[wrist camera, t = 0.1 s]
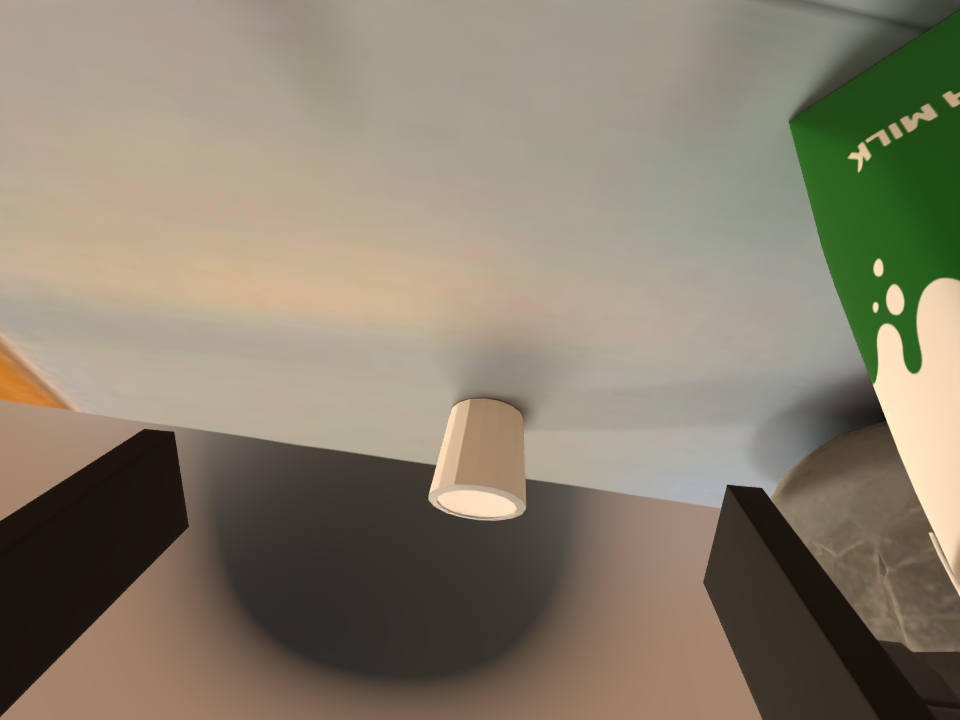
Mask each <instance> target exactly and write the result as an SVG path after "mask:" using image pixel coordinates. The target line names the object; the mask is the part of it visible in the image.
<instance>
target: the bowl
mask: <svg viewBox="0 0 960 720" xmlns="http://www.w3.org/2000/svg"><path fill="white" fill-rule="evenodd" d="M771 501H772V502H773V503H774V505H775V506H776V507H777V509H778V510H779V511H780V512H781V514H782V515H783V516H784V518H785V519H786V520H787V522H788V523H789V524H790V526H791V527H792V528H793V530H794V531H795V532H796V534H797V535H798V536H799V538H800V539H801V540H802V542H803V543H804V544H805V545H806V547H807V548H808V549H809V551H810V552H811V553H812V555H813V556H814V557H815V559H816V560H817V561H818V563H819V564H820V565H821V567H822V568H823V569H824V571H825V572H826V573H827V574H828V576H829V577H830V578H831V580H832V581H833V582H834V584H835V585H836V586H837V588H838V589H839V590H840V592H841V593H842V594H843V596H844V597H845V598H846V600H847V601H848V602H849V604H850V605H851V606H852V607H853V609H854V610H855V611H856V613H857V614H858V615H859V617H860V618H861V619H862V621H863V622H864V623H865V625H866V626H867V627H868V629H869V630H870V631H871V633H872V634H873V635H874V637H875V638H876V639H877V640H883V641H892V642H901V643H902V644H903V645H905V646H906V647H907V648H908V649H910V650H911V651H912V652H913V653H915V654H916V655H917V656H918V657H920V658H921V659H922V660H923V661H924V662H926V663H927V664H928V665H929V666H931V667H932V668H933V669H934V670H936V671H937V672H938V674H939V675H940V676H941V677H942V678H943V680H944V681H945V682H946V683H947V684H948V686H949V687H950V688H951V689H952V690H953V692H954V693H955V694H956V695H957V696H958V698H959V699H960V596H959V594H958V592H957V590H956V588H955V586H954V585H953V583H952V581H951V579H950V577H949V575H948V573H947V571H946V569H945V567H944V565H943V563H942V561H941V560H940V558H939V556H938V553H937V551H936V549H935V547H934V544H933V542H932V540H931V538H930V535H929V533H930V532H932V533H933V534H934V535H935V533H934V530H933V528H932V526H931V524H930V522H929V520H928V518H927V516H926V514H925V511H924V509H923V507H922V505H921V503H920V501H919V499H918V496H917V494H916V492H915V490H914V487H913V485H912V482H911V480H910V478H909V475H908V473H907V471H906V468H905V466H904V463H903V461H902V459H901V456H900V454H899V451H898V449H897V446H896V443H895V441H894V438H893V436H892V433H891V430H890V428H889V425H888V423H887V421H884V422H879V423H876V424H873V425H869V426H866V427H862V428H859V429H856V430H853V431H851V432H848V433H845V434H843V435H842V436H838V437H836V438H835V439H833V440H831V441H829V442H828V443H826V444H824V445H823V446H821V447H819V448H818V449H816V450H814V451H813V452H811V453H810V454H809V455H808V456H806V457H805V458H804V459H803V460H801V461H800V462H799V463H798V464H797V465H796V466H794V467H793V468H792V469H791V470H790V471H789V472H788V473H787V474H786V475H785V477H784V478H783V479H782V480H781V482H780V483H779V485H778V486H777V488H776V490H775V492H774V494H773V495H772V497H771ZM935 536H936V535H935Z"/></svg>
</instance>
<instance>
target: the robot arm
mask: <svg viewBox="0 0 960 720" xmlns="http://www.w3.org/2000/svg"><path fill="white" fill-rule="evenodd" d="M188 527H189V525H188V519H187V512H186V506H185V499H184V492H183V486H182V479H181V473H180V466H179V460H178V453H177V447H176V440H175V434H174V432H170V431H160V430H149V429H144V430H142V431H141V432H139V433H137V434H136V435H134V436H133V437H131V438H130V439H128V440H126V441H125V442H123V443H122V444H120V445H119V446H117V447H115V448H114V449H112V450H111V451H109V452H108V453H106V454H105V455H103V456H101V457H100V458H99V459H97V460H95V461H94V462H92V463H90V464H89V465H87V466H86V467H84V468H83V469H81V470H80V471H78V472H76V473H75V474H73V475H72V476H70V477H69V478H67V479H65V480H64V481H62V482H61V483H59V484H58V485H56V486H55V487H53V488H51V489H50V490H48V491H47V492H45V493H44V494H42V495H41V496H39V497H37V498H36V499H34V500H33V501H31V502H29V503H28V504H26V505H25V506H23V507H22V508H20V509H19V510H17V511H15V512H14V513H12V514H11V515H10V516H8V517H6V518H4V519H3V520H1V521H0V717H1V715H3V714H4V713H5V712H6V711H7V710H8V708H9V707H11V706H12V705H13V704H14V703H15V701H16V700H17V699H18V698H19V697H20V696H21V695H22V694H23V693H24V692H25V691H26V690H27V689H28V688H29V687H30V686H31V685H32V684H33V683H34V682H35V681H36V680H37V679H38V678H39V677H40V676H41V675H42V674H43V673H44V672H45V671H46V670H47V669H48V668H49V667H50V666H51V665H52V664H53V663H54V662H55V661H56V660H57V659H58V658H59V657H60V656H61V655H62V654H63V653H64V652H65V651H66V650H67V649H68V648H69V647H70V646H71V645H72V644H73V643H74V642H75V641H76V640H77V639H78V638H79V637H80V636H81V635H82V634H83V633H84V632H85V631H86V630H87V629H88V628H89V627H90V626H91V625H92V624H93V623H94V622H95V621H96V620H97V619H98V618H99V617H100V616H101V615H102V614H103V613H104V612H105V611H106V610H107V609H108V608H109V607H110V606H111V605H112V604H113V603H114V602H115V600H116V599H117V598H119V597H120V595H121V594H122V593H124V591H125V590H126V589H127V588H128V587H129V586H130V585H131V584H132V583H133V582H134V581H135V580H136V579H137V578H138V577H139V576H140V575H141V574H142V573H143V572H144V571H145V570H146V569H147V568H148V567H149V566H150V565H151V564H152V563H153V562H154V561H155V560H156V559H157V558H158V557H159V556H160V555H161V554H162V553H163V552H164V551H165V550H166V549H167V548H168V547H169V546H170V545H171V544H172V543H173V542H174V541H175V540H176V539H177V538H178V537H179V536H180V535H181V534H182V533H183V532H184V531H185V530H186V529H187V528H188ZM703 583H704V585H705V587H706V590H707V592H708V594H709V597H710V599H711V601H712V604H713V606H714V608H715V611H716V613H717V615H718V618H719V620H720V622H721V625H722V627H723V629H724V631H725V634H726V636H727V638H728V641H729V643H730V645H731V648H732V650H733V652H734V655H735V657H736V659H737V662H738V663H739V666H740V668H741V671H742V673H743V675H744V678H745V680H746V682H747V685H748V687H749V689H750V692H751V694H752V696H753V699H754V701H755V703H756V705H757V708H758V710H759V712H760V714H761V717H762V719H763V720H960V699H959V698H958V696H957V695H956V694H955V693H954V692H953V690H952V689H951V688H950V687H949V686H948V684H947V683H946V682H945V681H944V680H943V678H942V677H941V676H940V675H939V674H938V672H937V671H936V670H934V669H933V668H932V667H931V666H929V665H928V664H927V663H926V662H924V661H923V660H922V659H921V658H920V657H918V656H917V655H916V654H915V653H913V652H912V651H911V650H910V649H908V648H907V647H906V646H905V645H903V644H902V643H901V642H892V641H883V640H877V639H876V638H875V637H874V635H873V634H872V633H871V631H870V630H869V629H868V627H867V626H866V625H865V623H864V622H863V621H862V619H861V618H860V617H859V615H858V614H857V613H856V611H855V610H854V609H853V607H852V606H851V605H850V604H849V602H848V601H847V600H846V598H845V597H844V596H843V594H842V593H841V592H840V590H839V589H838V588H837V586H836V585H835V584H834V582H833V581H832V580H831V578H830V577H829V576H828V574H827V573H826V572H825V571H824V569H823V568H822V567H821V565H820V564H819V563H818V561H817V560H816V559H815V557H814V556H813V555H812V553H811V552H810V551H809V549H808V548H807V547H806V545H805V544H804V543H803V542H802V540H801V539H800V538H799V536H798V535H797V534H796V532H795V531H794V530H793V528H792V527H791V526H790V524H789V523H788V522H787V520H786V519H785V518H784V516H783V515H782V514H781V512H780V511H779V510H778V509H777V507H776V506H775V505H774V503H773V502H772V501H771V499H770V498H769V497H768V495H767V494H766V493H765V491H764V490H763V489H762V488H755V487H745V486H735V485H727V488H726V492H725V496H724V500H723V504H722V508H721V512H720V516H719V520H718V525H717V529H716V533H715V537H714V541H713V545H712V549H711V553H710V557H709V561H708V566H707V569H706V574H705V578H704V582H703Z"/></svg>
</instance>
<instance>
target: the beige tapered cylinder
mask: <svg viewBox="0 0 960 720" xmlns="http://www.w3.org/2000/svg"><path fill="white" fill-rule="evenodd" d="M428 500H429V501H430V502H431V503H432V504H433V505H434V506H435V507H437V508H438V509H440V510H442V511H444V512H446V513H449V514H453V515H456V516H460V517H464V518H471V519H476V520H503V519H511V518H514V517H516V516H519V515H521V514H522V513H523V512H524V510H525V509H526V490H525V459H524V429H523V418H522V415H521V413H520V412H519V411H518V410H517V409H516V408H514V407H513V406H511V405H509V404H506V403H504V402H501V401H498V400H492V399H486V398H482V399H469V400H465V401H462V402H459V403H458V404H456V405H455V406H454V407H453V408H452V410H451V414H450V418H449V422H448V425H447V429H446V433H445V437H444V440H443V444H442V448H441V452H440V455H439V459H438V463H437V467H436V471H435V474H434V478H433V482H432V485H431V489H430V493H429V499H428Z"/></svg>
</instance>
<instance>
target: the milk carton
mask: <svg viewBox="0 0 960 720" xmlns="http://www.w3.org/2000/svg"><path fill="white" fill-rule="evenodd" d="M789 125H790V129H791V132H792V135H793V139H794V143H795V147H796V151H797V154H798V158H799V162H800V166H801V170H802V173H803V177H804V181H805V185H806V188H807V192H808V196H809V200H810V203H811V207H812V211H813V215H814V219H815V222H816V226H817V230H818V234H819V237H820V241H821V245H822V249H823V252H824V255H825V258H826V262H827V264H828V267H829V270H830V273H831V276H832V279H833V282H834V285H835V287H836V290H837V293H838V295H839V298H840V301H841V303H842V306H843V308H844V311H845V314H846V316H847V319H848V321H849V324H850V327H851V329H852V332H853V334H854V337H855V340H856V342H857V345H858V347H859V350H860V353H861V355H862V358H863V360H864V363H865V366H866V368H867V371H868V373H869V376H870V379H871V381H872V384H873V386H874V389H875V392H876V394H877V397H878V399H879V402H880V404H881V407H882V410H883V412H884V415H885V417H886V420H887V423H888V425H889V428H890V430H891V433H892V436H893V438H894V441H895V443H896V446H897V449H898V451H899V454H900V456H901V459H902V461H903V463H904V466H905V468H906V471H907V473H908V475H909V478H910V480H911V482H912V485H913V487H914V490H915V492H916V494H917V496H918V499H919V501H920V503H921V505H922V507H923V509H924V511H925V514H926V516H927V518H928V520H929V522H930V524H931V526H932V528H933V530H934V533H935V535H936V536H935V535H934V534H933V533H932V532H930V533H929V535H930V538H931V540H932V542H933V544H934V547H935V549H936V551H937V553H938V556H939V558H940V560H941V561H942V563H943V565H944V567H945V569H946V571H947V573H948V575H949V577H950V579H951V581H952V583H953V585H954V586H955V588H956V590H957V592H958V594H959V596H960V10H959V11H957V12H956V13H954V14H953V15H951V16H949V17H948V18H946V19H945V20H943V21H942V22H940V23H939V24H937V25H936V26H934V27H933V28H931V29H930V30H928V31H927V32H925V33H923V34H922V35H920V36H919V37H917V38H916V39H914V40H913V41H911V42H910V43H908V44H907V45H905V46H904V47H902V48H900V49H899V50H897V51H896V52H894V53H893V54H891V55H890V56H888V57H887V58H885V59H884V60H882V61H881V62H879V63H878V64H876V65H874V66H873V67H871V68H870V69H868V70H867V71H865V72H864V73H862V74H861V75H859V76H858V77H856V78H855V79H853V80H852V81H850V82H848V83H847V84H845V85H844V86H842V87H841V88H839V89H838V90H836V91H835V92H833V93H832V94H830V95H829V96H827V97H825V98H824V99H822V100H821V101H819V102H818V103H816V104H815V105H813V106H812V107H810V108H809V109H807V110H806V111H804V112H803V113H801V114H799V115H798V116H796V117H795V118H793V119H792V120H790V121H789Z"/></svg>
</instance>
